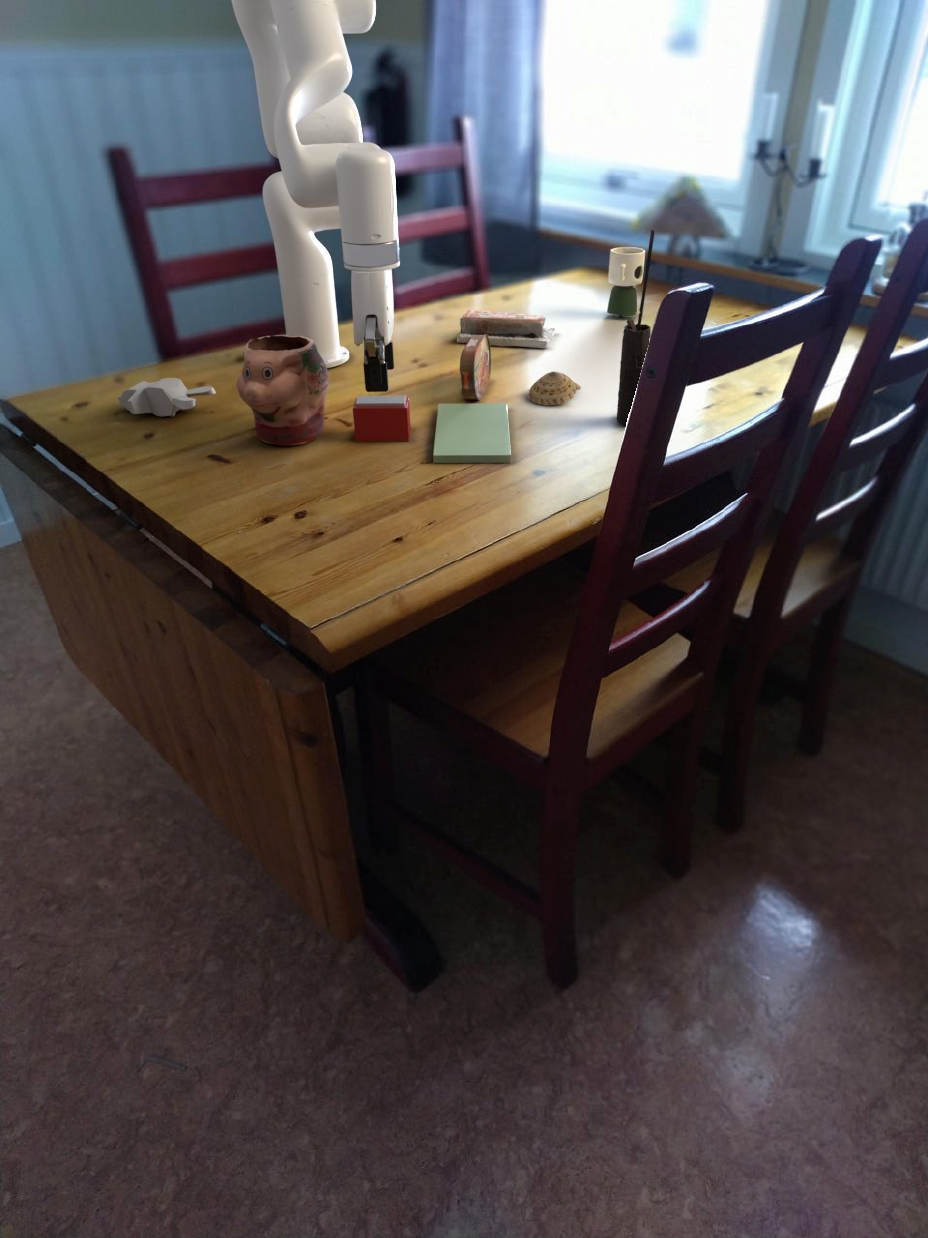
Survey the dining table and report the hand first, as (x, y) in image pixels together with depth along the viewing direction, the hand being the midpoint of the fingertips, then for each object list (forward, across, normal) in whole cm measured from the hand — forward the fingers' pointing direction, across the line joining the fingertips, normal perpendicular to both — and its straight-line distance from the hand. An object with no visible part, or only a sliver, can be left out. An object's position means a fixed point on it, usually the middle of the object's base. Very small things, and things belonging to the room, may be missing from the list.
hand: (380, 379), depth 123 cm
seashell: (+9, -16, +27) cm, 33 cm away
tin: (+9, -20, +14) cm, 25 cm away
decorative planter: (+9, -2, -14) cm, 17 cm away
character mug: (+8, -64, +45) cm, 79 cm away
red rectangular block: (+9, 0, 0) cm, 9 cm away
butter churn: (+9, -6, +38) cm, 39 cm away
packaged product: (+8, -48, +20) cm, 53 cm away
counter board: (+9, 0, +13) cm, 16 cm away
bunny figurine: (+9, -10, -36) cm, 39 cm away
